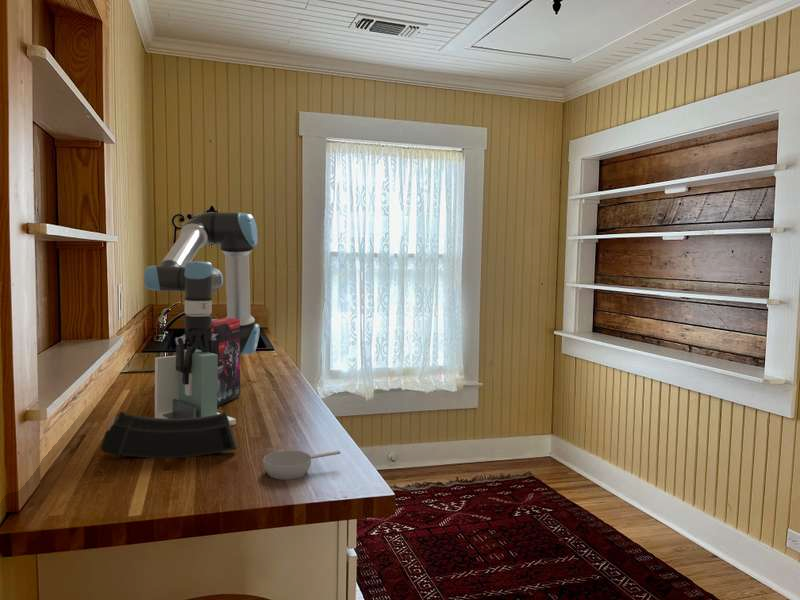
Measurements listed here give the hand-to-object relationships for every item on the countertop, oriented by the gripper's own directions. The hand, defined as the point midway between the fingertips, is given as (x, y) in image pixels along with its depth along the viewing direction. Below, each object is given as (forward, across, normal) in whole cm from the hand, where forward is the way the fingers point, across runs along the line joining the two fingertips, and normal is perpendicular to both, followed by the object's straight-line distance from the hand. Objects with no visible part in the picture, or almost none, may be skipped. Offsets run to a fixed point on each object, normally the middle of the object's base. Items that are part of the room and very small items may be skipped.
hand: (197, 393), depth 172 cm
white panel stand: (+8, -1, -1) cm, 8 cm away
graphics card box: (+8, +16, +14) cm, 23 cm away
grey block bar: (+6, -6, -1) cm, 9 cm away
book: (+6, 0, 0) cm, 6 cm away
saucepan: (+8, -3, -53) cm, 53 cm away
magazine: (+8, -20, -23) cm, 32 cm away
